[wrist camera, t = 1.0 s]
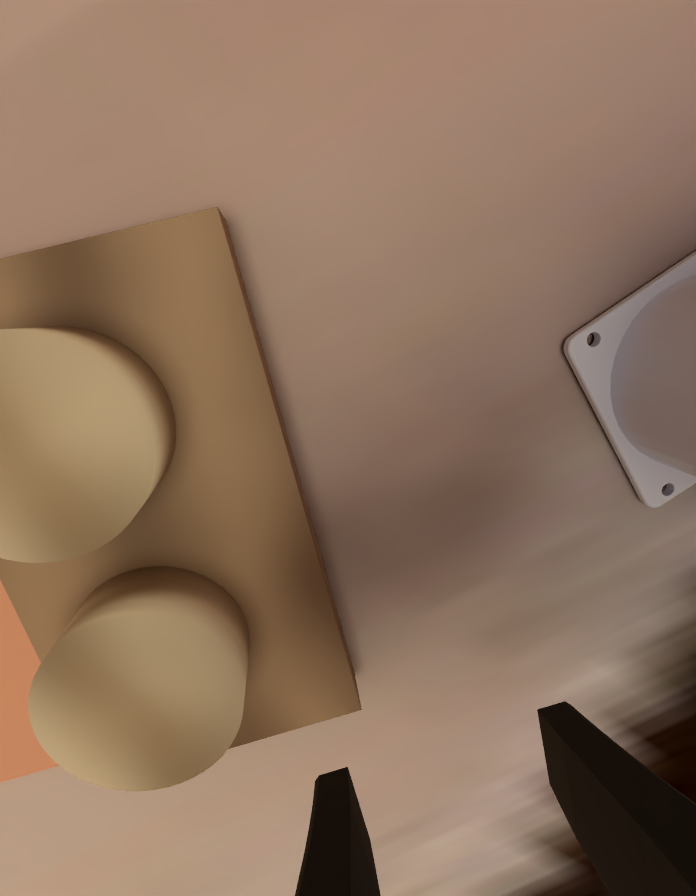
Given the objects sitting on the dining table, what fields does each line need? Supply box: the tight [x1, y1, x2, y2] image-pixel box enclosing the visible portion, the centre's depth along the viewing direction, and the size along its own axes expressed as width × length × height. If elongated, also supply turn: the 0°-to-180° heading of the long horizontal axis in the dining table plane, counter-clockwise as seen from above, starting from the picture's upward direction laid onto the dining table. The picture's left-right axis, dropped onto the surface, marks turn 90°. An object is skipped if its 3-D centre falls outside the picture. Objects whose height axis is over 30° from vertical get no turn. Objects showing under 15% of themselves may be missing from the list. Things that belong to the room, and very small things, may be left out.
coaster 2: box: [28, 566, 250, 791], centre depth 16 cm, size 6×6×3 cm
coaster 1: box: [0, 326, 176, 563], centre depth 14 cm, size 6×6×3 cm
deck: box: [0, 207, 361, 749], centre depth 18 cm, size 10×18×2 cm, turn 14°
